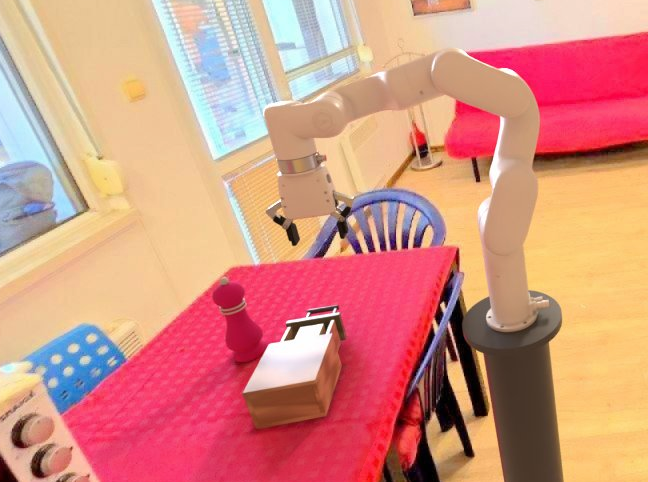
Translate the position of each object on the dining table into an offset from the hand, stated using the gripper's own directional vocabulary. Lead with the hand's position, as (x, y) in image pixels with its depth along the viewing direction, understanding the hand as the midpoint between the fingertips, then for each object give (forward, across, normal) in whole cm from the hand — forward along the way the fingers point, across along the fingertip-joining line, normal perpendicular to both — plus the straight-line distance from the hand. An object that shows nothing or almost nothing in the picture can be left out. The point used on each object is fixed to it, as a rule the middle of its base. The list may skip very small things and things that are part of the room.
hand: (320, 239), depth 111 cm
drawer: (+25, +6, +2) cm, 26 cm away
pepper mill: (+26, +22, -2) cm, 34 cm away
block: (+24, +6, +4) cm, 25 cm away
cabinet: (+26, +6, +16) cm, 31 cm away
